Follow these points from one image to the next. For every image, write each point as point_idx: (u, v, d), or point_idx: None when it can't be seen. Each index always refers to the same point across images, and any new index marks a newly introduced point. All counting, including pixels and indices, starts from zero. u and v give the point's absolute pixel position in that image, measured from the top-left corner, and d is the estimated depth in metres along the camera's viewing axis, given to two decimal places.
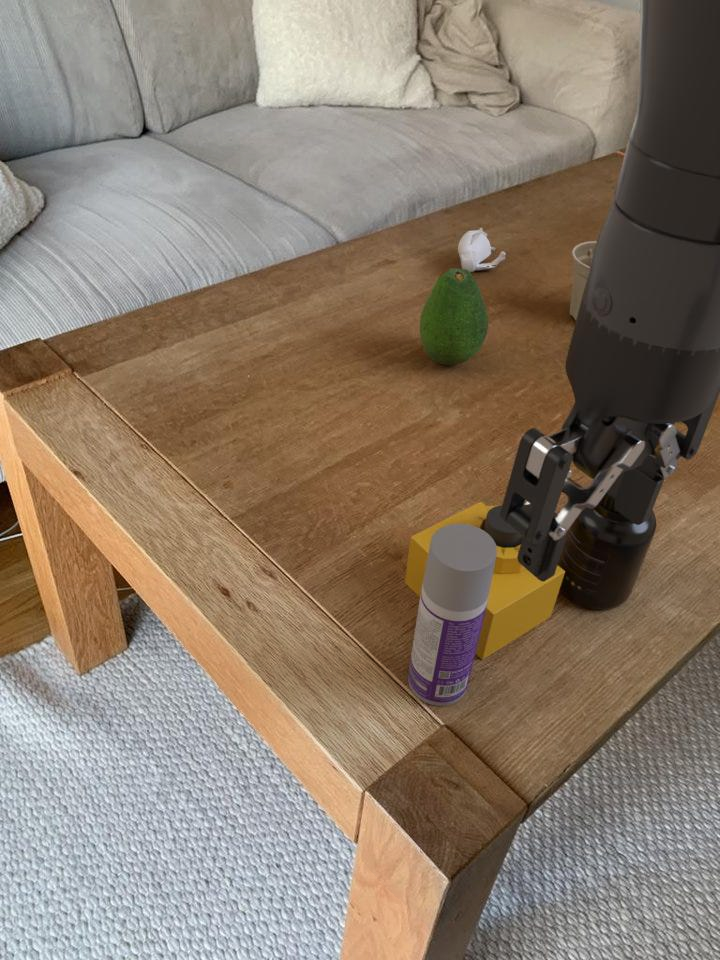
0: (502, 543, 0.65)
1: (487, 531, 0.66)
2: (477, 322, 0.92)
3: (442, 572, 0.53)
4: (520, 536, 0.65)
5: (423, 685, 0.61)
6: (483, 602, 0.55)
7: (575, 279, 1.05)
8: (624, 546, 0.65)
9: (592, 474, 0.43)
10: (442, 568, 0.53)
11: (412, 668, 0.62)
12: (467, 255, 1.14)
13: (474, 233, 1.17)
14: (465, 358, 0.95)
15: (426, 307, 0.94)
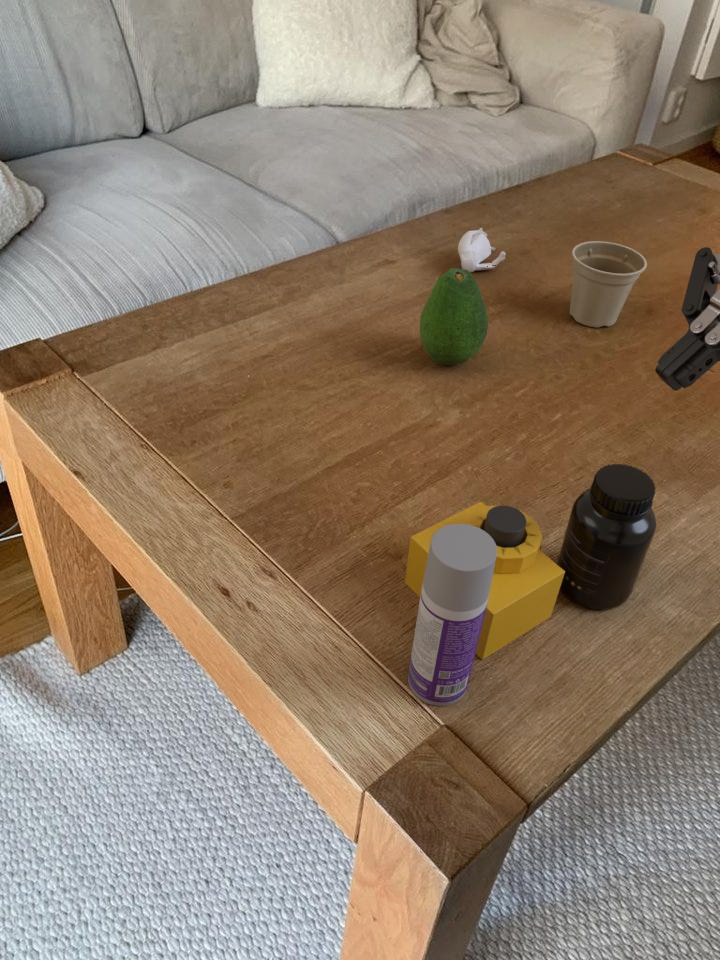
0: (502, 543, 0.65)
1: (487, 531, 0.66)
2: (477, 322, 0.92)
3: (442, 572, 0.53)
4: (520, 536, 0.65)
5: (423, 685, 0.61)
6: (483, 602, 0.55)
7: (575, 279, 1.05)
8: (623, 546, 0.65)
9: None
10: (442, 567, 0.53)
11: (412, 668, 0.62)
12: (467, 255, 1.14)
13: (474, 233, 1.17)
14: (465, 358, 0.95)
15: (426, 307, 0.94)
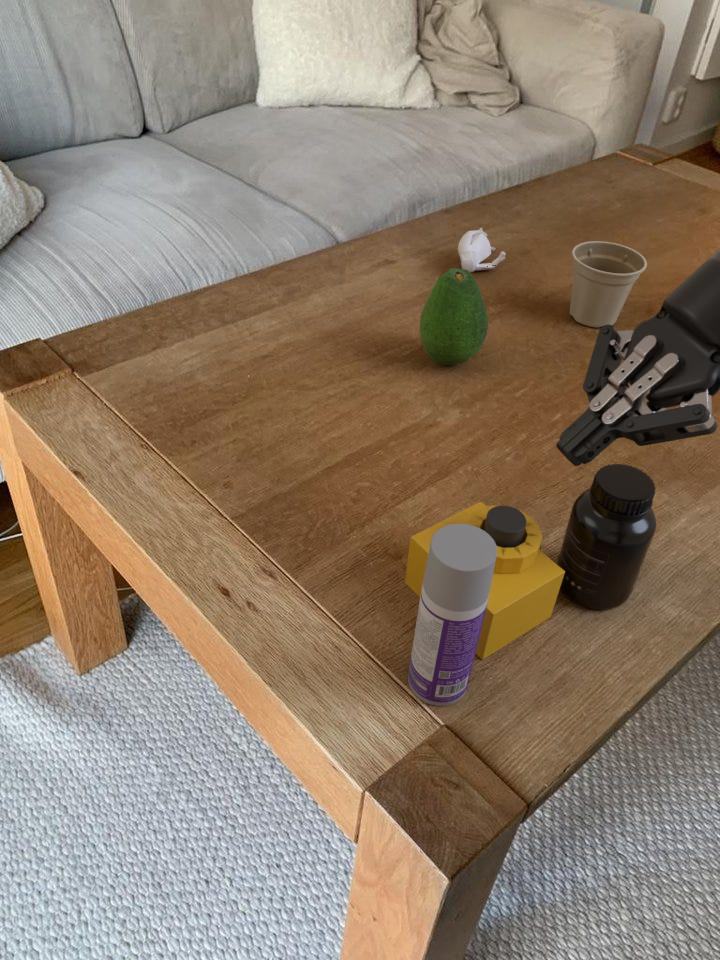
0: (502, 543, 0.65)
1: (487, 531, 0.66)
2: (477, 322, 0.92)
3: (442, 572, 0.53)
4: (520, 536, 0.65)
5: (423, 685, 0.61)
6: (483, 602, 0.55)
7: (575, 279, 1.05)
8: (623, 546, 0.65)
9: (624, 357, 0.63)
10: (442, 567, 0.53)
11: (412, 668, 0.62)
12: (467, 255, 1.14)
13: (474, 233, 1.17)
14: (465, 358, 0.95)
15: (426, 307, 0.94)
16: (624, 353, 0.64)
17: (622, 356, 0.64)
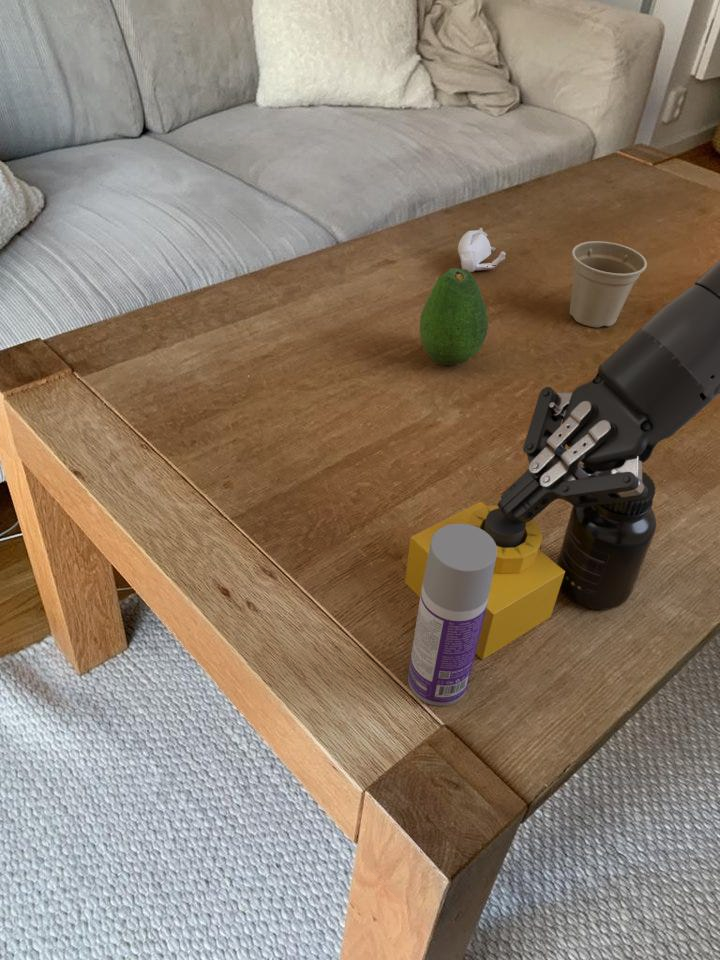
0: (501, 545, 0.65)
1: None
2: (477, 322, 0.92)
3: (442, 572, 0.53)
4: (519, 539, 0.65)
5: (423, 685, 0.61)
6: (483, 602, 0.55)
7: (575, 279, 1.05)
8: (623, 546, 0.65)
9: (563, 420, 0.65)
10: (442, 567, 0.53)
11: (412, 668, 0.62)
12: (467, 255, 1.14)
13: (474, 233, 1.17)
14: (465, 358, 0.95)
15: (426, 307, 0.94)
16: (563, 415, 0.66)
17: (562, 418, 0.66)
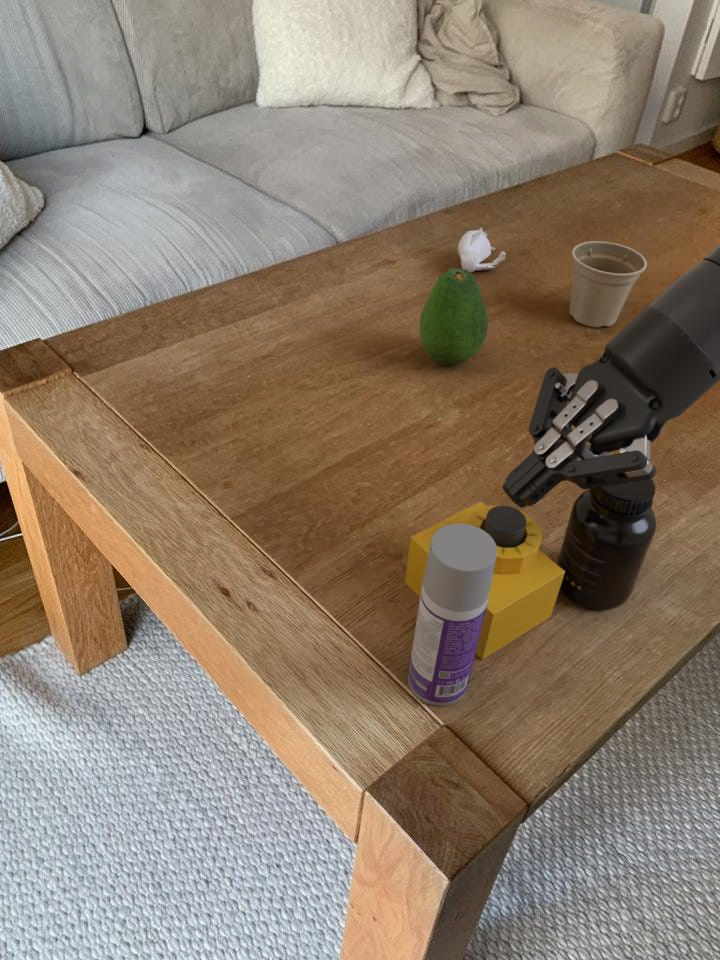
0: (502, 543, 0.65)
1: (487, 531, 0.66)
2: (477, 322, 0.92)
3: (442, 572, 0.53)
4: (520, 536, 0.65)
5: (423, 685, 0.61)
6: (483, 602, 0.55)
7: (575, 279, 1.05)
8: (624, 546, 0.65)
9: (569, 401, 0.63)
10: (442, 567, 0.53)
11: (412, 668, 0.62)
12: (467, 255, 1.14)
13: (474, 233, 1.17)
14: (465, 358, 0.95)
15: (426, 307, 0.94)
16: (569, 396, 0.65)
17: (568, 399, 0.65)
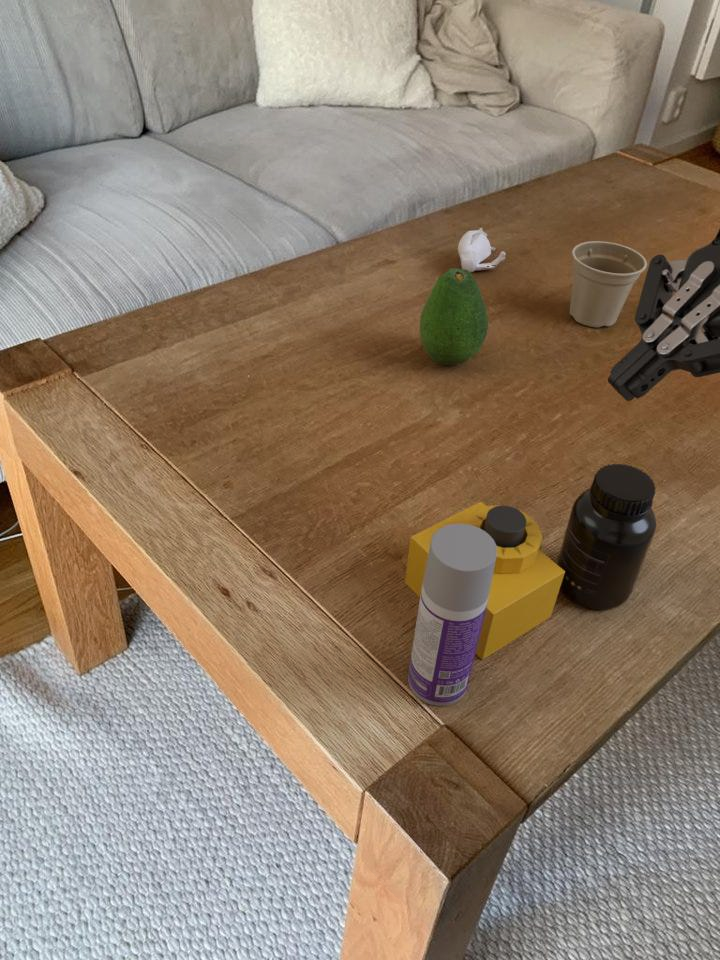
0: (502, 543, 0.65)
1: (487, 531, 0.66)
2: (477, 322, 0.92)
3: (442, 572, 0.53)
4: (520, 536, 0.65)
5: (423, 685, 0.61)
6: (483, 602, 0.55)
7: (575, 279, 1.05)
8: (623, 546, 0.65)
9: (678, 287, 0.60)
10: (442, 567, 0.53)
11: (412, 668, 0.62)
12: (467, 255, 1.14)
13: (474, 233, 1.17)
14: (465, 358, 0.95)
15: (426, 307, 0.94)
16: (677, 284, 0.61)
17: (675, 287, 0.62)
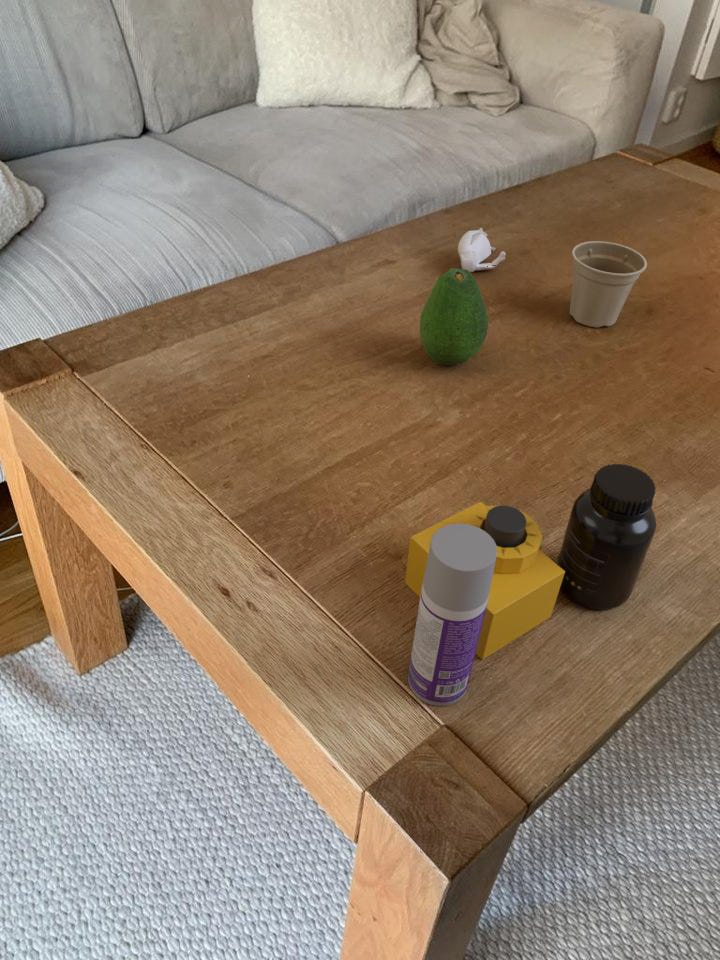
0: (502, 543, 0.65)
1: (487, 531, 0.66)
2: (477, 322, 0.92)
3: (442, 572, 0.53)
4: (520, 536, 0.65)
5: (423, 685, 0.61)
6: (483, 602, 0.55)
7: (575, 279, 1.05)
8: (623, 546, 0.65)
9: None
10: (442, 567, 0.53)
11: (412, 668, 0.62)
12: (467, 255, 1.14)
13: (474, 233, 1.17)
14: (465, 358, 0.95)
15: (426, 307, 0.94)
16: None
17: None
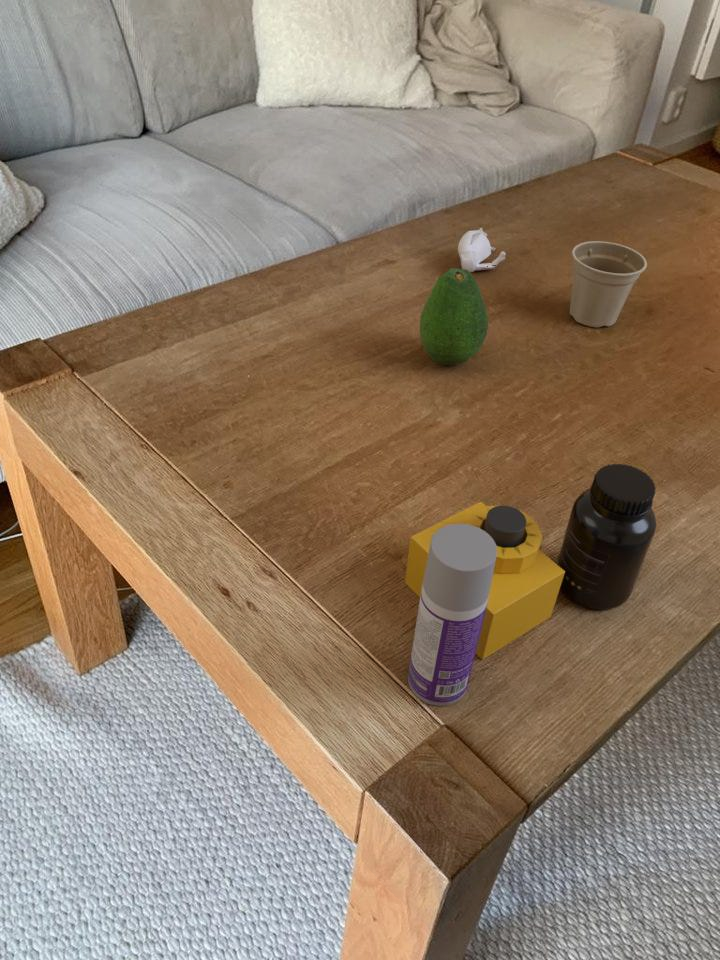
0: (502, 543, 0.65)
1: (487, 531, 0.66)
2: (477, 322, 0.92)
3: (442, 572, 0.53)
4: (520, 536, 0.65)
5: (423, 685, 0.61)
6: (483, 602, 0.55)
7: (575, 279, 1.05)
8: (623, 546, 0.65)
9: None
10: (442, 567, 0.53)
11: (412, 668, 0.62)
12: (467, 255, 1.14)
13: (474, 233, 1.17)
14: (465, 358, 0.95)
15: (426, 307, 0.94)
16: None
17: None
